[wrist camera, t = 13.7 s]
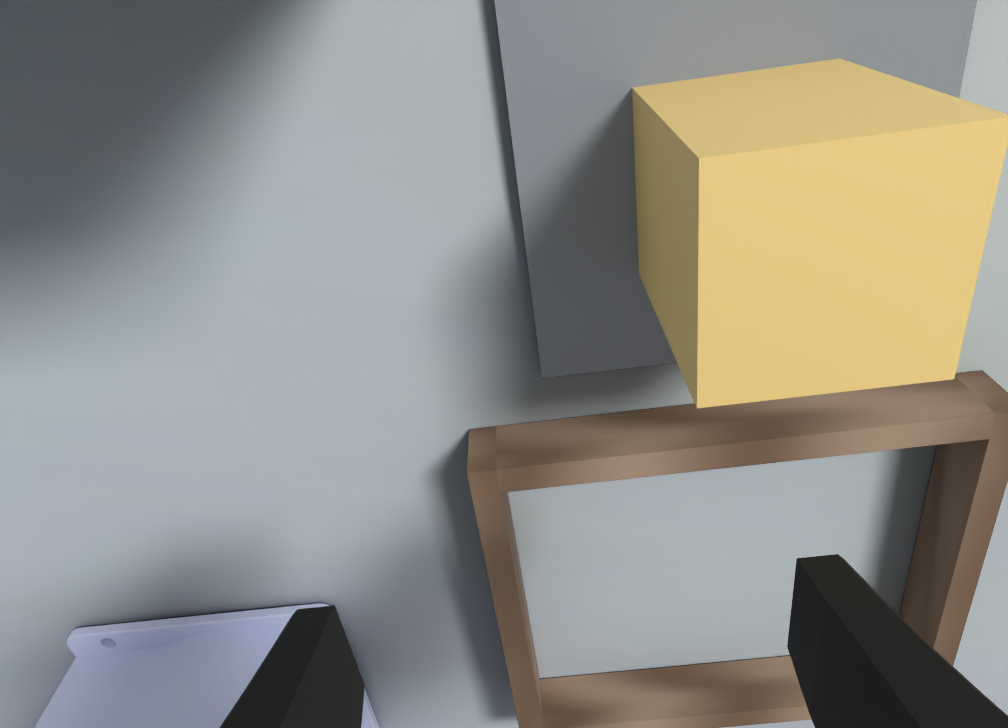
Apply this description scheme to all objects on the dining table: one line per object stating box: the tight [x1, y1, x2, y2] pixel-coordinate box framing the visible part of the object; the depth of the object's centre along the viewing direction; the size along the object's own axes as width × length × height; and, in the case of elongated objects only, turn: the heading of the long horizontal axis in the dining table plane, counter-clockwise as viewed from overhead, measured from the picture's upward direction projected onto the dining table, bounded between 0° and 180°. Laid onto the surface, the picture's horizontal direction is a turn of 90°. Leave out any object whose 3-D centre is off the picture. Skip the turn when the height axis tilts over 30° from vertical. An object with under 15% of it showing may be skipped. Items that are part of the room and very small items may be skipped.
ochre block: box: [632, 59, 1008, 408], centre depth 14 cm, size 4×4×6 cm
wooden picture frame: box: [467, 370, 1008, 728], centre depth 23 cm, size 15×13×2 cm
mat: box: [494, 0, 977, 379], centre depth 17 cm, size 10×10×1 cm
